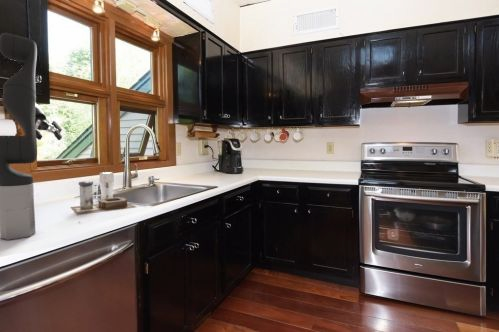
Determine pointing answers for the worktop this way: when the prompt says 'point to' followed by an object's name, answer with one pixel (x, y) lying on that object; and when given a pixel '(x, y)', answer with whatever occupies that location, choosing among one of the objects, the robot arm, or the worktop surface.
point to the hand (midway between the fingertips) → (50, 138)
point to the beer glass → (106, 184)
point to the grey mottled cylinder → (86, 195)
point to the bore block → (105, 206)
